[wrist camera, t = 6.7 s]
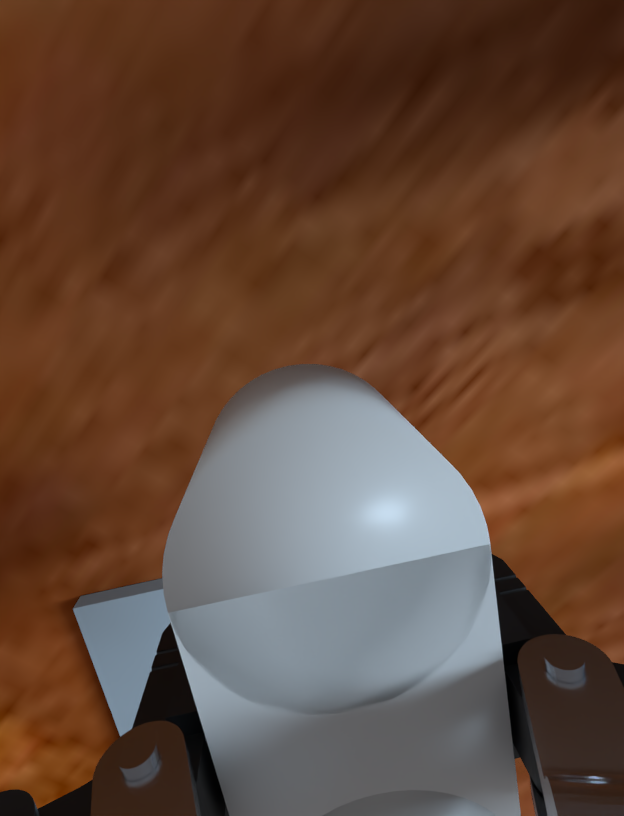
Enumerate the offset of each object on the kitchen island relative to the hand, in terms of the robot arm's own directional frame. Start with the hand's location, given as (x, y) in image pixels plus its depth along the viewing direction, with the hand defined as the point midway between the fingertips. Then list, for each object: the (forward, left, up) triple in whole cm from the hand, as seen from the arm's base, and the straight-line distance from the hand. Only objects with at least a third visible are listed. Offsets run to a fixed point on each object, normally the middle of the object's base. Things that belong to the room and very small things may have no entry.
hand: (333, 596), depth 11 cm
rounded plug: (0, +1, -1) cm, 1 cm away
